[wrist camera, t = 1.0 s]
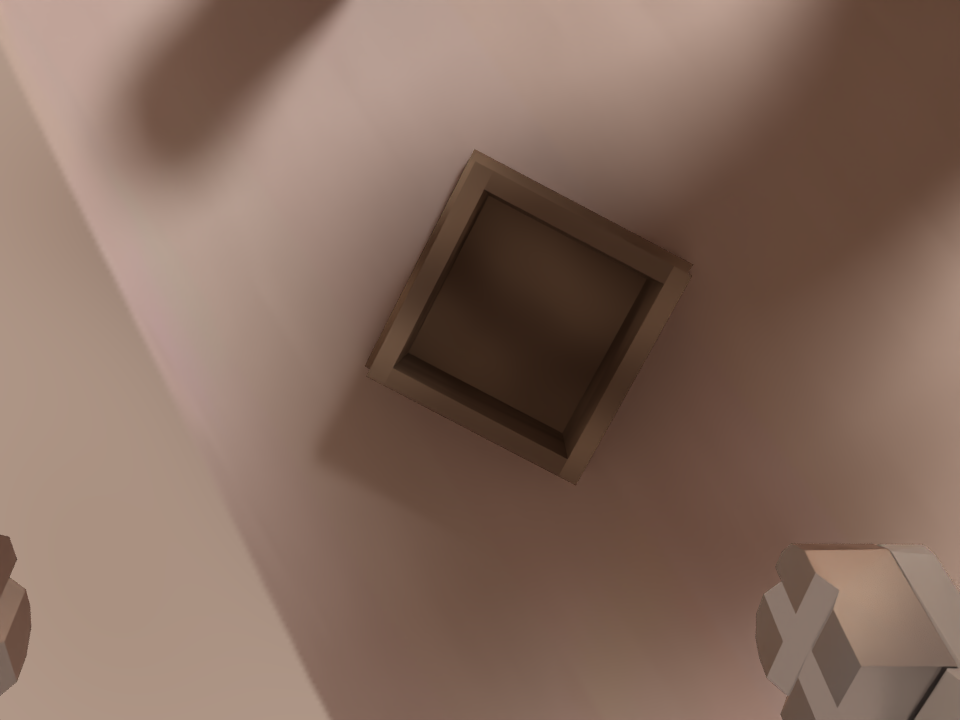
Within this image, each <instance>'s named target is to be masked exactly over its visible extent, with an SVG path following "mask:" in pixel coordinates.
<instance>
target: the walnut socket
mask: <svg viewBox="0 0 960 720" xmlns="http://www.w3.org/2000/svg"><path fill="white" fill-rule="evenodd" d="M692 265H693V264H691V263H689V262H687V261H686V260H684V259H682V258H680V257H678V256H676V255H674V254H672V253H670V252H668V251H667V250H665V249H663V248H661V247H659V246H657V245H655V244H653V243H651V242H650V241H648V240H646V239H644V238H642V237H640V236H638V235H636V234H634V233H632V232H631V231H629V230H627V229H625V228H623V227H621V226H619V225H617V224H615V223H613V222H612V221H610V220H608V219H606V218H604V217H602V216H600V215H598V214H596V213H595V212H593V211H591V210H589V209H587V208H585V207H583V206H581V205H579V204H577V203H576V202H574V201H572V200H570V199H568V198H566V197H564V196H562V195H560V194H559V193H557V192H555V191H553V190H551V189H549V188H547V187H545V186H543V185H541V184H540V183H538V182H536V181H534V180H532V179H530V178H528V177H526V176H524V175H522V174H521V173H519V172H517V171H515V170H513V169H511V168H509V167H507V166H505V165H504V164H502V163H500V162H498V161H496V160H494V159H492V158H490V157H488V156H486V155H485V154H483V153H481V152H479V151H477V150H475V149H474V151H473V153H472V155H471V157H470V159H469V161H468V163H467V165H466V167H465V169H464V171H463V173H462V175H461V177H460V179H459V181H458V183H457V185H456V187H455V189H454V191H453V193H452V195H451V197H450V199H449V201H448V203H447V205H446V207H445V209H444V211H443V213H442V214H441V216H440V218H439V220H438V222H437V224H436V226H435V228H434V230H433V232H432V234H431V236H430V238H429V240H428V242H427V244H426V246H425V248H424V250H423V252H422V254H421V256H420V258H419V260H418V262H417V264H416V266H415V268H414V270H413V272H412V274H411V276H410V278H409V280H408V282H407V284H406V286H405V288H404V290H403V292H402V294H401V295H400V297H399V299H398V301H397V303H396V305H395V307H394V309H393V311H392V313H391V315H390V317H389V319H388V321H387V323H386V325H385V327H384V329H383V331H382V333H381V335H380V337H379V339H378V341H377V343H376V345H375V347H374V349H373V351H372V353H371V355H370V357H369V359H368V361H367V363H366V365H365V367H367V368H369V369H370V370H369V372H368V374H367V377H369V378H371V379H373V380H374V381H376V382H378V383H380V384H382V385H384V386H386V387H388V388H390V389H392V390H394V391H396V392H397V393H399V394H401V395H403V396H405V397H407V398H409V399H411V400H413V401H415V402H417V403H419V404H421V405H422V406H424V407H426V408H428V409H430V410H432V411H434V412H436V413H438V414H440V415H442V416H444V417H446V418H447V419H449V420H451V421H453V422H455V423H457V424H459V425H461V426H463V427H465V428H467V429H469V430H470V431H472V432H474V433H476V434H478V435H480V436H482V437H484V438H486V439H488V440H490V441H492V442H494V443H495V444H497V445H499V446H501V447H503V448H505V449H507V450H509V451H511V452H513V453H515V454H517V455H519V456H520V457H522V458H524V459H526V460H528V461H530V462H532V463H534V464H536V465H538V466H540V467H542V468H543V469H545V470H547V471H549V472H551V473H553V474H555V475H557V476H559V477H561V478H563V479H565V480H567V481H568V482H570V483H572V484H574V485H576V484H577V482H578V480H579V479H580V477H581V475H582V473H583V471H584V470H585V468H586V466H587V464H588V462H589V461H590V459H591V457H592V455H593V453H594V452H595V450H596V448H597V446H598V444H599V443H600V441H601V439H602V437H603V435H604V434H605V432H606V430H607V428H608V426H609V425H610V423H611V421H612V419H613V417H614V416H615V414H616V412H617V410H618V408H619V407H620V405H621V403H622V401H623V399H624V398H625V396H626V394H627V392H628V390H629V389H630V387H631V385H632V383H633V381H634V380H635V378H636V376H637V374H638V372H639V371H640V369H641V367H642V365H643V363H644V362H645V360H646V358H647V356H648V354H649V353H650V351H651V349H652V347H653V345H654V344H655V342H656V340H657V338H658V336H659V335H660V333H661V331H662V329H663V327H664V326H665V324H666V322H667V320H668V318H669V317H670V315H671V313H672V311H673V309H674V307H675V306H676V304H677V302H678V300H679V298H680V297H681V295H682V293H683V291H684V289H685V288H686V286H687V284H688V282H689V280H690V279H691V277H692V275H690V274H688V273H689V271H690V269H691V267H692Z"/></svg>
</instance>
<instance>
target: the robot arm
mask: <svg viewBox="0 0 960 720" xmlns="http://www.w3.org/2000/svg"><path fill="white" fill-rule="evenodd" d="M16 561H17V558H16V555H15V552H14V549H13V546H12V543H11V540H10V537H8V536H4V535H0V695H1V694H3V693H4V692H5V691H6V690H8V689H9V688H10V687H11V686H12V685H14V684H15V683H16V682H17V680H18V677H19V675H20V672H21V669H22V666H23V664H24V661H25V658H26V655H27V649H28V643H29V637H30V631H31V612H30V603H29V600H28V596H27V592H26V589H25V588H23V587H22V586H21V585H19V584H18V583H17V582H15V581H14V580H12V579H11V578H10V575H11V572H12V570H13V568H14V565H15V563H16ZM776 570H777V572H778V574H779V577H780V579H781V582H780V583H778V584H777V585H776V586H774V587H773V588H771V589H770V590H769V591H767V592H766V593H764V595H763V598H762V600H761V603H760V606H759V609H758V611H757V614H756V643H757V648H758V654H759V658H760V661H761V664H762V666H763V669H764V672H765V675H766V677H767V679H769V680H770V681H771V682H772V683H773V684H774V685H775V686H776V687H778V688H779V689H780V690H781V691H782V692H783V693H784V694H785V695H787V697H786V700H785V703H784V706H783V709H782V712H781V717H782V719H783V720H960V592H959V591H958V589H957V588H956V586H955V584H954V583H953V581H952V580H951V578H950V577H949V575H948V574H947V572H946V570H945V569H944V567H943V566H942V564H941V563H940V561H939V560H938V558H937V556H936V555H935V554H934V553H933V551H931V550H930V549H929V548H927V547H926V546H924V545H923V544H878V545H875V544H790V545H789V546H788V547H787V548H786V549H784V550H783V551H782V553H781V555H780V558H779V560H778V562H777V564H776Z"/></svg>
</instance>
